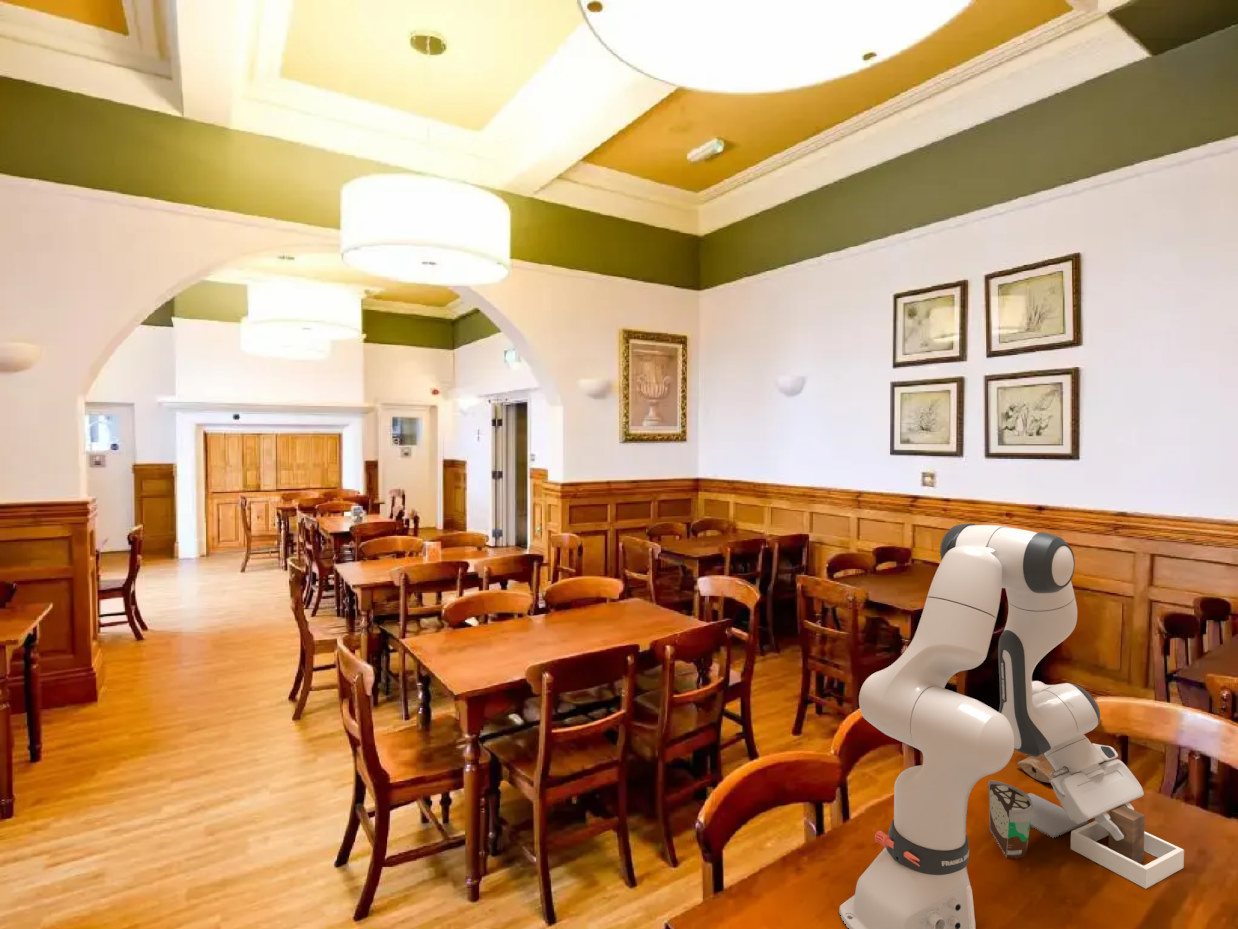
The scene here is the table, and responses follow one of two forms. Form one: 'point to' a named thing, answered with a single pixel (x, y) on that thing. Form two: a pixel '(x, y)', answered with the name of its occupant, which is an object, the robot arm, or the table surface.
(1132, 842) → the walnut block
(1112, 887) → the table surface
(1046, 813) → the rubber mat
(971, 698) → the robot arm
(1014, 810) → the food container
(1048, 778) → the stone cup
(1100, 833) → the tray
